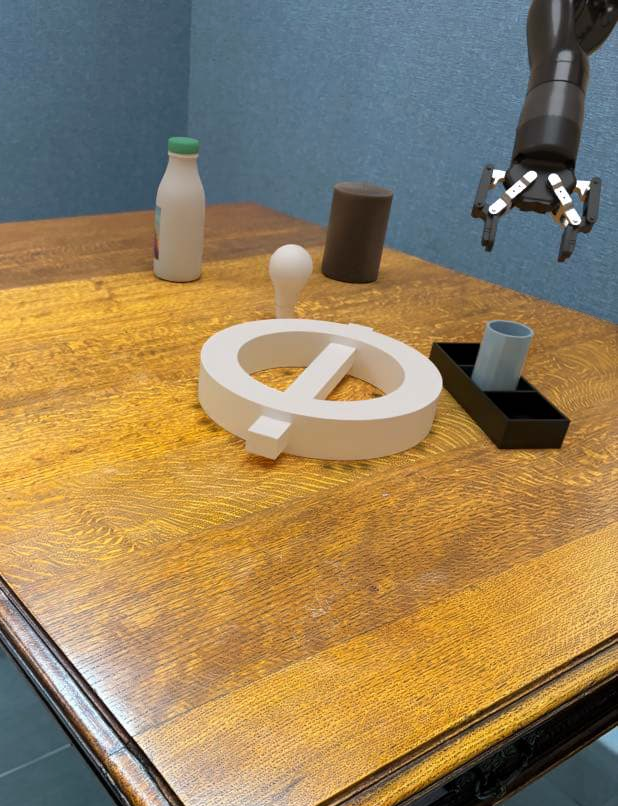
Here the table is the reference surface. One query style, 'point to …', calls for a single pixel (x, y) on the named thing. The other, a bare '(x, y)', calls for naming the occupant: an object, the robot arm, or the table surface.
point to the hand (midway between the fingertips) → (525, 253)
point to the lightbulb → (289, 277)
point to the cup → (501, 355)
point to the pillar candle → (356, 232)
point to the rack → (499, 402)
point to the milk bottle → (180, 215)
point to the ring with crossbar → (317, 389)
